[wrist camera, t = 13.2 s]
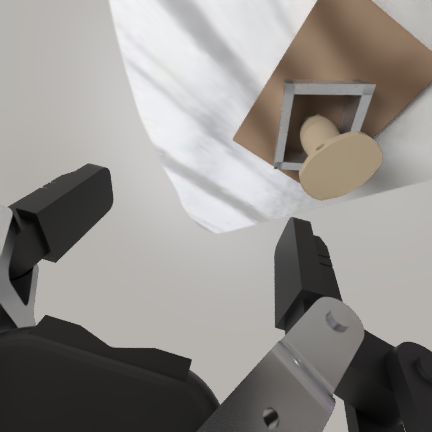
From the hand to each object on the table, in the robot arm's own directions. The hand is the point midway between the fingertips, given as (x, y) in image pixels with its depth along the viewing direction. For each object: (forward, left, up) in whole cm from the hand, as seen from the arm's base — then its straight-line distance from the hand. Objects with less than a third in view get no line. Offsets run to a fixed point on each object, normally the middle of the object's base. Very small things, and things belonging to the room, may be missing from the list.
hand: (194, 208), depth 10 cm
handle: (-2, +9, -27) cm, 29 cm away
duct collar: (-2, +9, -28) cm, 29 cm away
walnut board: (-4, +9, -28) cm, 29 cm away
